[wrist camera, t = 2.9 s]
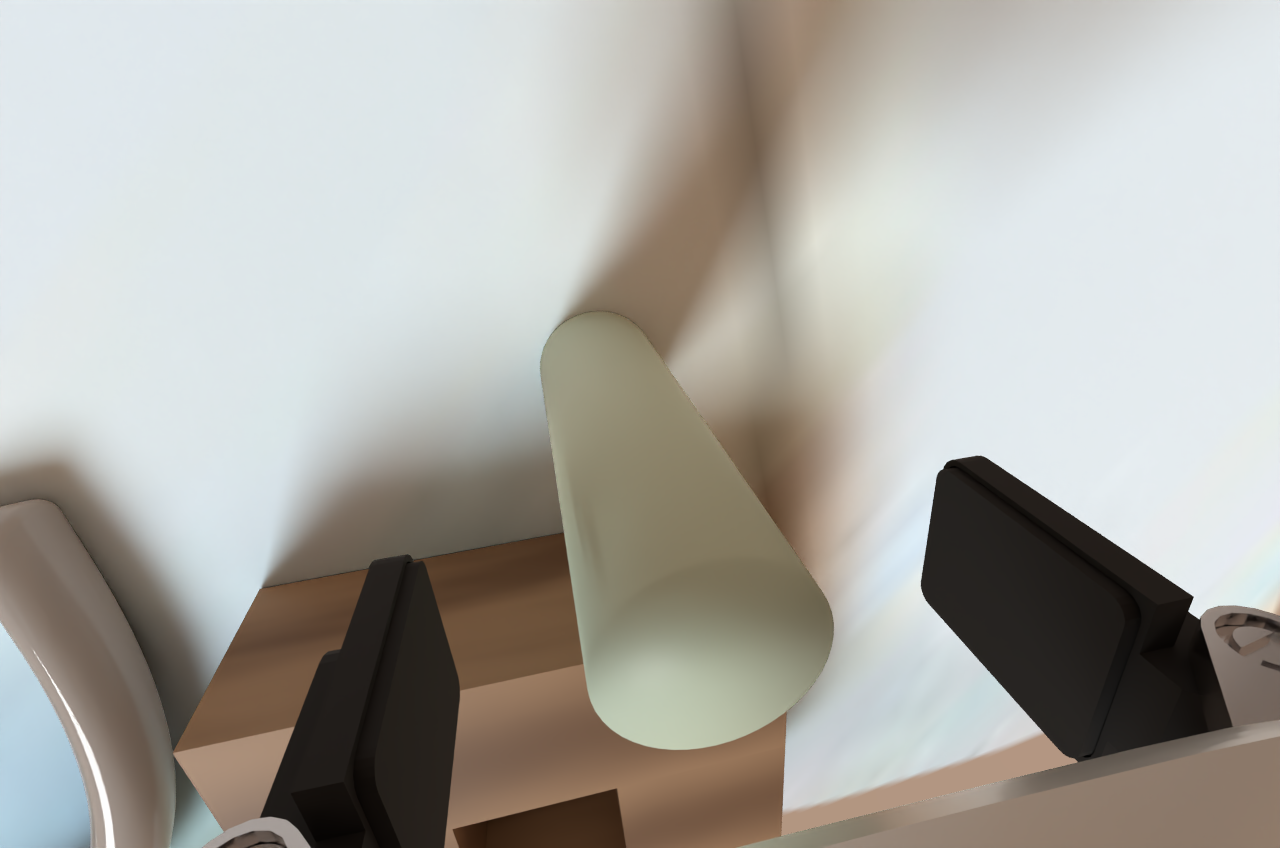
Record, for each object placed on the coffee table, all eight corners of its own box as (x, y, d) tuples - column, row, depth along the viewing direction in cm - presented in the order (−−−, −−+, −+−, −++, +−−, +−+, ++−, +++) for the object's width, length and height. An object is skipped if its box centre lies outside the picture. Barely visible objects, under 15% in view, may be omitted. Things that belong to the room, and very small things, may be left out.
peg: (531, 319, 18) (570, 588, 7) (649, 304, 19) (842, 535, 8) (549, 427, 20) (601, 773, 9) (657, 409, 20) (825, 718, 10)
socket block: (259, 588, 20) (172, 753, 15) (722, 503, 22) (790, 619, 17) (387, 862, 27) (360, 1039, 22) (728, 776, 30) (777, 917, 24)
